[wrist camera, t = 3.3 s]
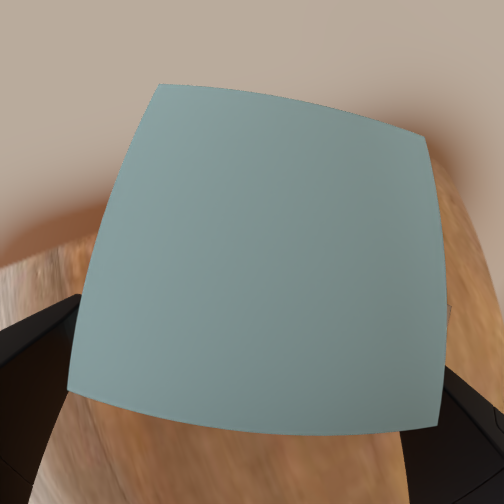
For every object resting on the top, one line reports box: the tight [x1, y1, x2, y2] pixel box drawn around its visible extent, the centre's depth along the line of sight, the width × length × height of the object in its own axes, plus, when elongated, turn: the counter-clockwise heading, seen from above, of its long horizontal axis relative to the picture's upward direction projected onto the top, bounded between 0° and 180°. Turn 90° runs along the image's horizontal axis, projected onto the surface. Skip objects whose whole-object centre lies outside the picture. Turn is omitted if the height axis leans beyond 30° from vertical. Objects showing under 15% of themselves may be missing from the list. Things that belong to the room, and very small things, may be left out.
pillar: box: [67, 84, 447, 436], centre depth 10 cm, size 5×5×14 cm
